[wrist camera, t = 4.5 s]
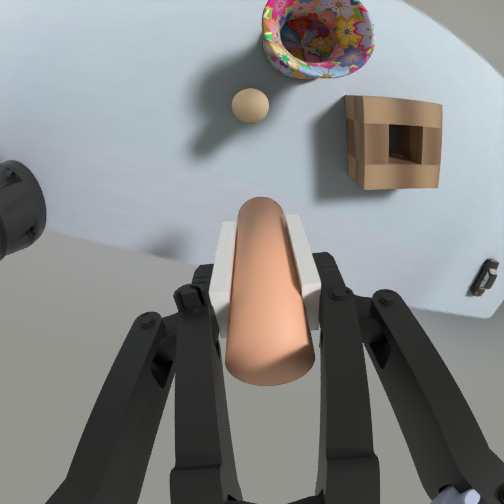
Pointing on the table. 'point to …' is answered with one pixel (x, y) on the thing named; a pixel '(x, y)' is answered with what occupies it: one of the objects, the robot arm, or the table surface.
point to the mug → (317, 37)
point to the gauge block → (377, 142)
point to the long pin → (266, 302)
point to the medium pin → (250, 105)
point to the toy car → (485, 277)
